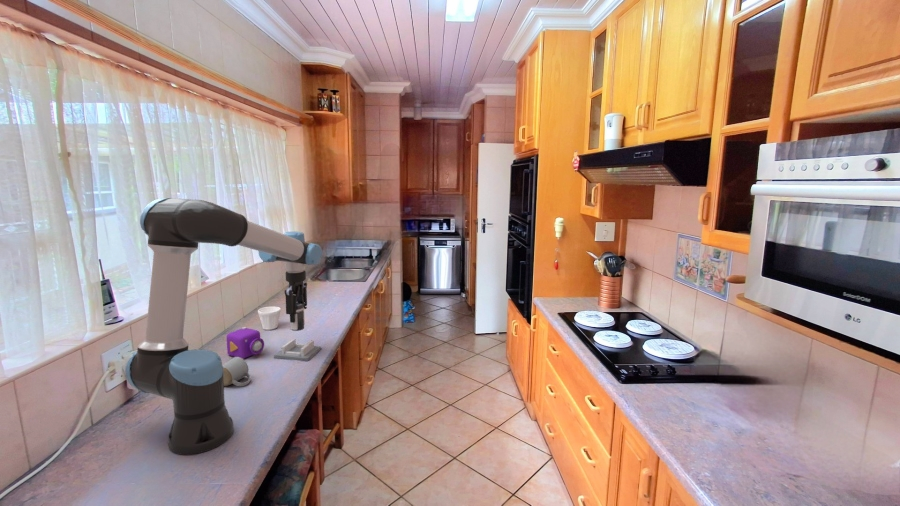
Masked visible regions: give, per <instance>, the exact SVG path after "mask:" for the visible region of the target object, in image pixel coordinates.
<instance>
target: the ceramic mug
mask: <svg viewBox="0 0 900 506" xmlns="http://www.w3.org/2000/svg"><path fill="white" fill-rule="evenodd" d="M222 366H223V381H224V387H227V386H231V385H232V384H233V385H234V386H237V387H245V386H248V385H249V383H250V382H251V380H252V379H251V378H252V377H251V374H250V373H249V370H250V369H249V365H248V363H247V362H246V361H245V359H242V358H240V357H234V356H233V357H232V358H231V359H229V360H228V361H226V362H225V363H222ZM245 377H246V378H247V379H248V380H247V381H245V382H241V381H240V380H241V379H243V378H245ZM239 381H240V382H239Z"/></svg>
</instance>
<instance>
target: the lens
mask: <svg viewBox="0 0 900 506" xmlns="http://www.w3.org/2000/svg"><path fill="white" fill-rule="evenodd" d="M296 314H297V323H298V330H292V331H293V332H297V331H298V332H299V331H302V330H304V329H305V325H304V320H305V309H304V307H303V304H302V303H297V306H296Z"/></svg>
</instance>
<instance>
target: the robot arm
mask: <svg viewBox="0 0 900 506" xmlns="http://www.w3.org/2000/svg"><path fill="white" fill-rule="evenodd" d="M139 224H140V228H141V230H143V232H144V234H146V235H147V246H148V247H149V248H150V249H151V250H152V251H153V256H152V257H153V259H152V266H151V267H152V268H151V277H150V288H149V299H148V309H147V318H146V328H145V329H146V330H145V338H144V339H143V340H142V341H141V342H140V343H139V344H138V345H137V350H136V351H135V352H134V353H132V357H130V358H128V360H127V362H126V365H125V371H124V373H125V378H126V381H127V383H128V384H129V385H130V386H131V387H133V389H136V390H138V391H140V392H142V393H145V394H151V395H155V396H158V397H163V398H166V399H170V400H172V404H173V405H172V407H173V413H174V414H173V415H174V416H173V417H174V418H173V421H172V424H171V427H170V431H169V434H168V437H167V438H168V448H169V450H170V451H171V452H173V453H174V454H178V455H183V456H184V455H187V456H188V455H197V454H201V453H205V452H207V451H210V450H213V449H215V448H217V447H219V446H221V445H223V444H224V443H225V442H227V441H228V440H229V439H230V438H231V437H232V435H233V433H234V431H235V430H234V421H233V419H232V417H231V416H230V414H229V412H228V409H227V406H226V405H225V401H226V400H225V386H224V381H223V366H222V365H223V363H222V358H221V357H220V355H219V354H218V353H217V352H215V351H213V350H209V349H203V348H202V349H189V345H190V344H189V342H188V341H187V340H186V339H185V338H184V329H185V322H186V320H185V319H186V312H187V311H186V308H187V300H188V289H189V279H190V277H189V276H190V266H191V260H192V259H191V258H192V254H193V253H194V252H195V251H197V250H198V248H199V244H216V245H217V244H218V245H224V246H228V247H236V246H240V247H243V248H247V249H251V250H255V251H258V252H257V253H258V256H259V258H260V259H261V260H262V261H263V262H265V263H274V262H284V266H285V267H284V271H285V281H286V282H288V283H289V284H288V288H287V289H285V290H284V295H285V296H284V297H285V314H286V315H289V327H290V331H293V330H298V323H297V314H296V306H297V303H302V304H303V307H304V310H307V309H308V307H307V306H308V294H307V293H308V290H307V288H308V287H307V286H308V283H307V282H305V281H306V280H307V272H306V265H307V266H309V265H312V266H315V265H318V264H319V263H321V260H322V256H323V250H322V247H321V246H320V245H319V244H318V243H313V242H306V238H305V233H303V232H302V231H286V232H284V234H283V233H281V232H278V231H276V230H273V229H270V228H268V227H265V226H263V225H260V224H257V223H254V222H251V221H249V220H248V219H247V217H246V216H245V215H243V214H241V213H238V212H235V211H233V210H231V209H229V208H226V207H223V206H220V205H218V204H216V203H213V202H210V201H207V200H202V199H190V198H189V199H188V198H178V197H177V198H176V197H166V198H157V199H155V200H152V201H151V202H149V203H147V205H146V206H144V208H143V209H142V211H141V214H140V217H139ZM305 325H306V324H305V319H304V326H305Z"/></svg>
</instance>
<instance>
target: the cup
mask: <svg viewBox="0 0 900 506" xmlns="http://www.w3.org/2000/svg"><path fill="white" fill-rule="evenodd" d="M281 311H282V309H281V307H279V306H265V307H260V308H259V309H258V310H257V314H258V317H259V319H260V320H259V321H260V323H261V325H262V329H263V330H264V331H273V330H276V329H277V328H278V326H279V321H280V317H281Z"/></svg>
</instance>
